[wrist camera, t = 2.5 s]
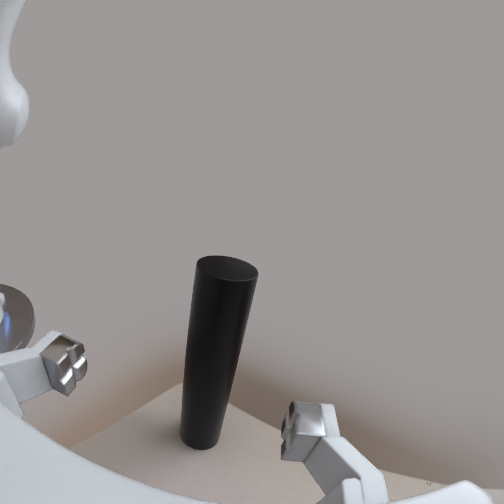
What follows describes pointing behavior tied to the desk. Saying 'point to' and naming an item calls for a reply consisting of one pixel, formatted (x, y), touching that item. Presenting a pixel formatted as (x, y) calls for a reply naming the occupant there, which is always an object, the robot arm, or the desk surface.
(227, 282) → the cylinder
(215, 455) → the desk surface
